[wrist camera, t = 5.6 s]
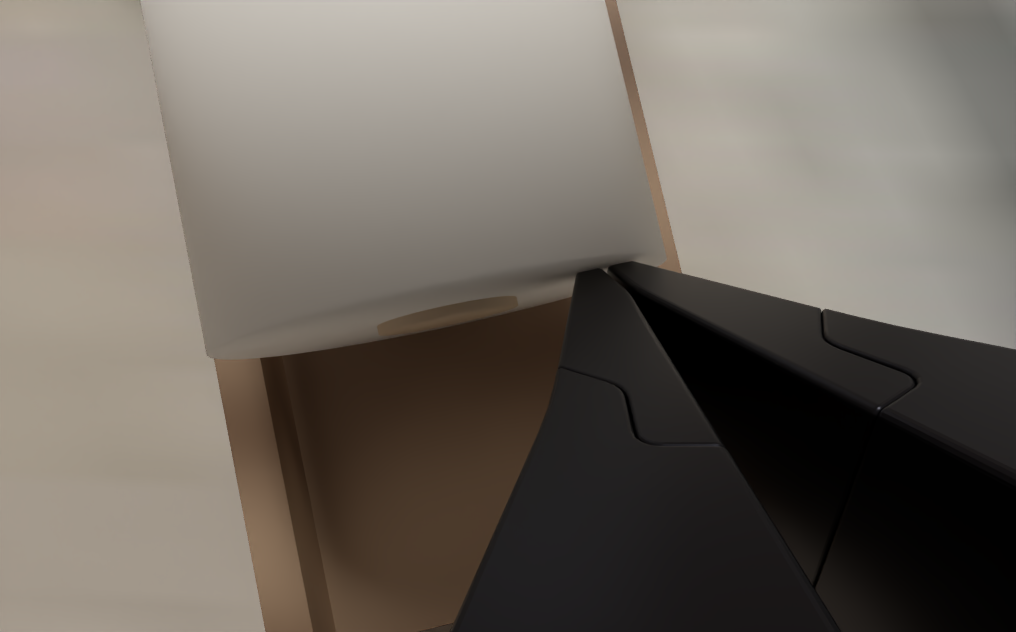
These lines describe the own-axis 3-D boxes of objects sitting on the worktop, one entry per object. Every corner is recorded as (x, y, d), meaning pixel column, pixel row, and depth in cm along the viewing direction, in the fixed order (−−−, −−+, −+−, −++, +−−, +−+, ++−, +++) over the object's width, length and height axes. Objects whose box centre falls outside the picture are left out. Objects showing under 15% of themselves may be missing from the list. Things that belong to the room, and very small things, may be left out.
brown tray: (712, 542, 16) (851, 653, 10) (311, 641, 15) (201, 824, 9) (519, -270, 17) (538, -600, 11) (146, -212, 17) (-41, -529, 11)
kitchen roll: (611, 297, 15) (758, 227, 7) (300, 365, 14) (77, 373, 6) (523, -77, 16) (567, -534, 8) (223, -24, 15) (-67, -451, 7)
